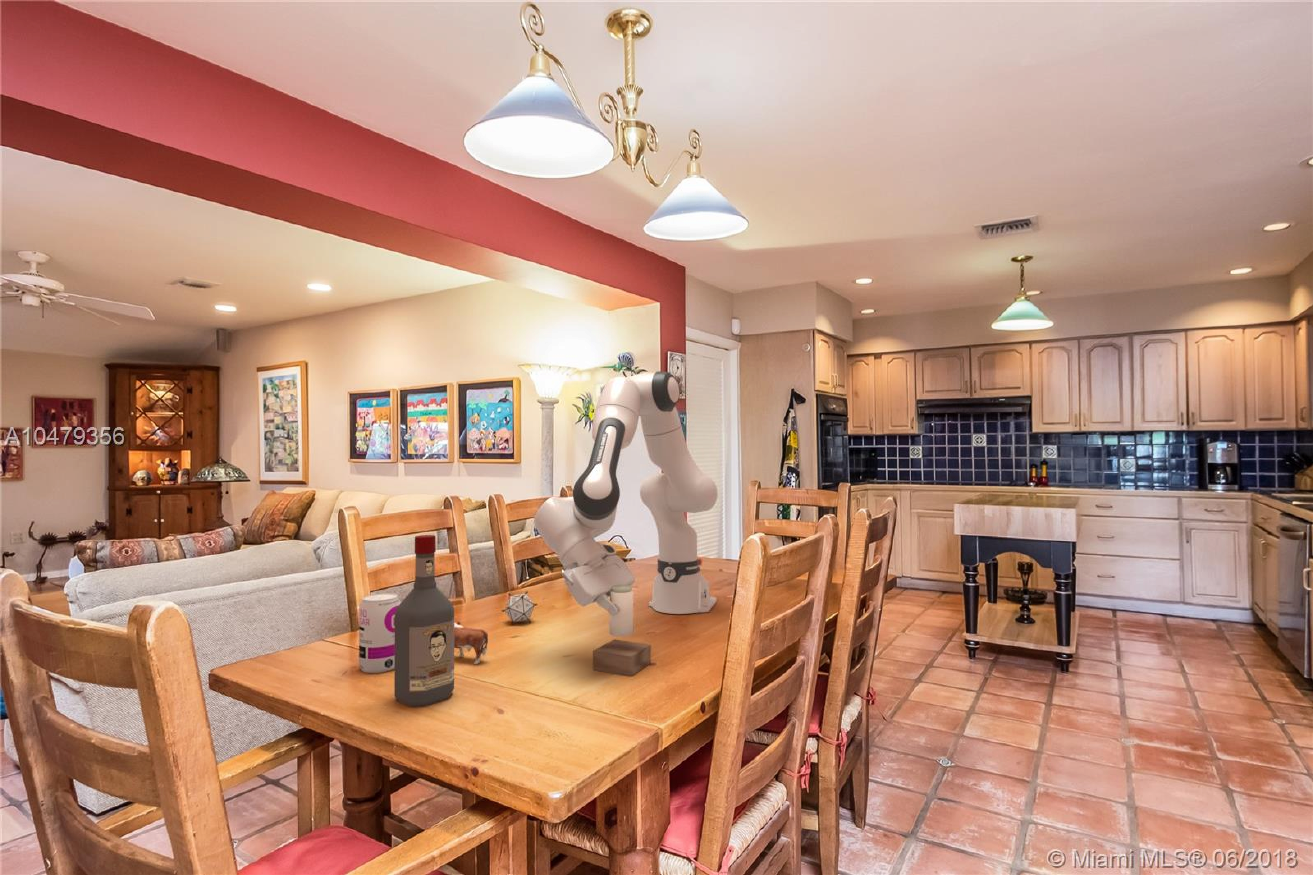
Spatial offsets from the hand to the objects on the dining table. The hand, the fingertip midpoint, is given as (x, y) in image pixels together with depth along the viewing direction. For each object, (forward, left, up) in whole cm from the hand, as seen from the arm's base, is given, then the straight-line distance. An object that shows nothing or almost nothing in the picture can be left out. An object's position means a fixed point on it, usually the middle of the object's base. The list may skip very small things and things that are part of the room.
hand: (624, 610), depth 140 cm
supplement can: (+23, -47, -12) cm, 53 cm away
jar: (0, -1, -5) cm, 5 cm away
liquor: (+31, -26, -12) cm, 42 cm away
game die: (-19, -43, -12) cm, 48 cm away
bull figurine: (+11, -35, -12) cm, 38 cm away
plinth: (0, -1, -12) cm, 12 cm away
